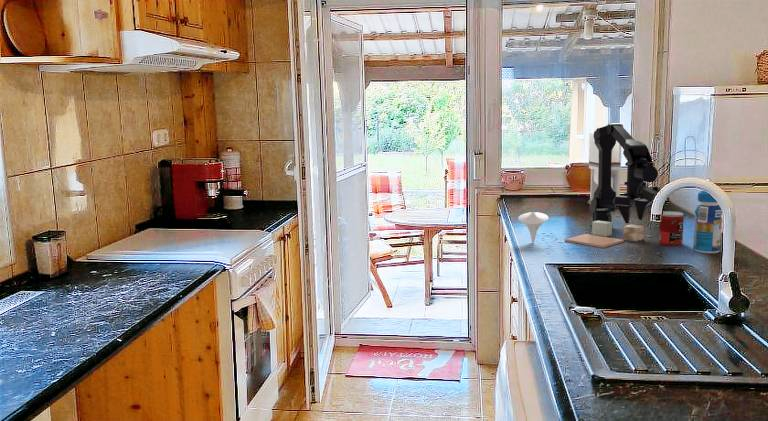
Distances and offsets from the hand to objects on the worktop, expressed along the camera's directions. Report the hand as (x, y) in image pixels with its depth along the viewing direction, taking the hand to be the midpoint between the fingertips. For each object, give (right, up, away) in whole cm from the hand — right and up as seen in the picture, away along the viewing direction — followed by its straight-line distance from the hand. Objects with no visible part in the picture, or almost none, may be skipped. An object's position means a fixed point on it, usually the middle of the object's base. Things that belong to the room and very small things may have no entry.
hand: (633, 221), depth 243 cm
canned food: (+10, -8, -8) cm, 15 cm away
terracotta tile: (-15, -7, -1) cm, 17 cm away
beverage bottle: (+17, -10, -20) cm, 28 cm away
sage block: (-8, -5, +11) cm, 15 cm away
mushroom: (-37, -8, 0) cm, 38 cm away
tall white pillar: (+14, +6, +77) cm, 78 cm away
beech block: (0, -7, +1) cm, 7 cm away
